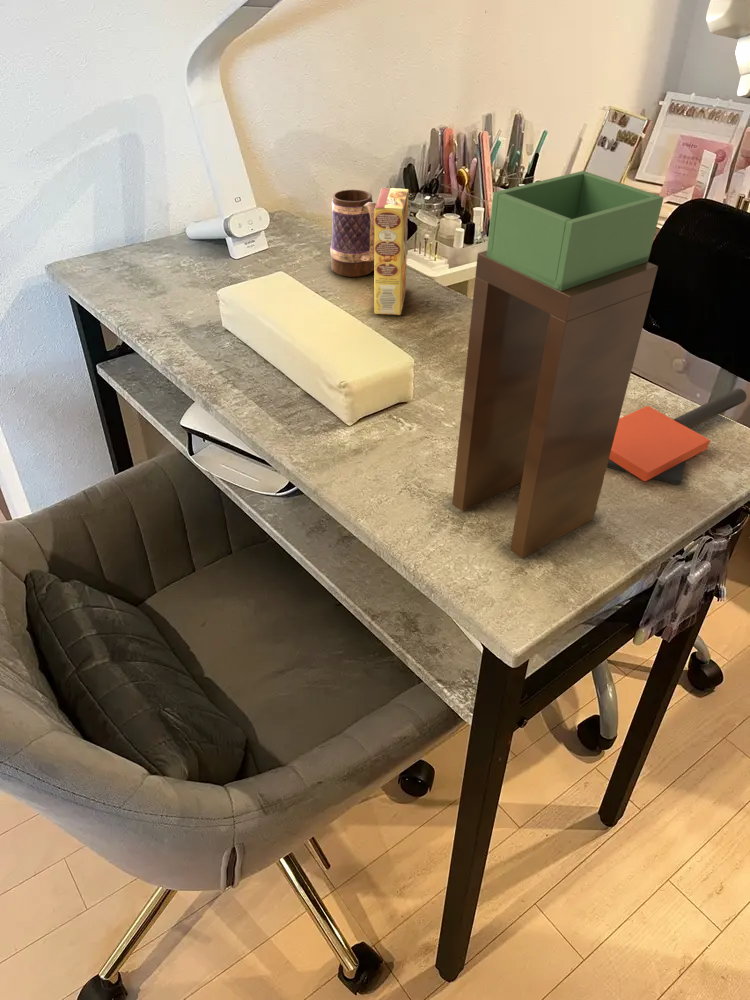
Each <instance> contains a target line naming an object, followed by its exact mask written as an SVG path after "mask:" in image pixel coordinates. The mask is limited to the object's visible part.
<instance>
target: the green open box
mask: <svg viewBox="0 0 750 1000" xmlns="http://www.w3.org/2000/svg"><path fill="white" fill-rule="evenodd" d="M491 200H492V201H491V209H490V210H491V211H490V218H489V227H488V236H487V246H486V251H487V254H486V257H488V258H490V259H492V260H495V261H497V262H499V263H501V264H503V265H505V266H507V267H510V268H512V269H514V270H516V271H518V272H520V273H522V274H524V275H527V276H529V277H531V278H533V279H535V280H537V281H539V282H542V283H544V284H546V285H548V286H550V287H552V288H554V289H556V290H559V291H563V290H566V289H569V288H572V287H575V286H578V285H581V284H584V283H586V282H589V281H592V280H595V279H598V278H601V277H604V276H607V275H610V274H613V273H616V272H619V271H622V270H625V269H628V268H631V267H633V266H636V265H639V264H642V263H645V262H649V259H650V255H651V251H652V246H653V243H654V239H655V235H656V231H657V226H658V222H659V218H660V214H661V210H662V206H663V203H664V196H662V195H657V194H656V193H652V192H648V191H647V190H644V189H640V188H637V187H634V186H631V185H628V184H626V183H625V184H624V183H622V182H619V181H616V180H613V179H609V178H606V177H603V176H601V175H598V174H595V173H591V172H588V171H585V170H580V171H577V172H574V173H568V174H564V175H560V176H555V177H551V178H547V179H542V180H539V181H535V182H530V183H526V184H522V185H518V186H513V187H509V188H505V189H502V190H498V191H497V190H496V191H493V193H492V199H491Z"/></svg>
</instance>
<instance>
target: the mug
mask: <svg viewBox="0 0 750 1000" xmlns="http://www.w3.org/2000/svg"><path fill="white" fill-rule="evenodd" d="M376 204H377V202H374V201H373V195H372V194H371V193H370V192H369V191H365V190H362V189H343V190H338V191H336V192H335V193H333V194H332V200H331V210H332V211H331V214H332V215H331V219H332V220H331V242H330V257H331V265H330V266H331V270H332V271H333V272H334V273H335V274H337V275H339V276H342V277H347V278H348V277H349V278H359V277H364V276H367V275H369V274H371V273H372V272H373V271H374V209H375V206H376Z"/></svg>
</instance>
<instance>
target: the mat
mask: <svg viewBox="0 0 750 1000" xmlns="http://www.w3.org/2000/svg"><path fill="white" fill-rule="evenodd" d="M685 464H686V460H685V461H683V462H681V463H679V464H678V465H676V466H674V467H672V468H670V469H668V470H666V471H664V472H662V473H660V474H659V475H657V476H655V477H653V478H652V479H654V480H656V481H657V480H658V481H662V482H665V483H669V484H674V485H677V486H681V482H682V478H683V473H684V469H685V466H686V465H685ZM607 468H609V469H614V470H618V471H621V472H625V473H629V474H631V473H630V472H629V471H627V470H626V469H624V468H622V467H621V466H619V465H618V464H616V463H615V462H613V461H611V460H610V459H609V460H608V464H607Z"/></svg>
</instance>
